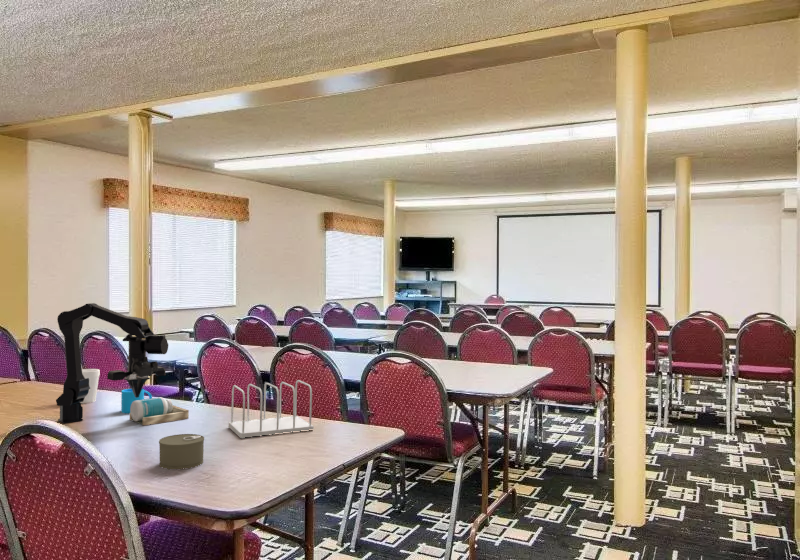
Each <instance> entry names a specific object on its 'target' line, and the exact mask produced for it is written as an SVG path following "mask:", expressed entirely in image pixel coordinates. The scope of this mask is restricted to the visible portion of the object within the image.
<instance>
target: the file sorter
mask: <svg viewBox="0 0 800 560" xmlns="http://www.w3.org/2000/svg"><path fill="white" fill-rule="evenodd" d="M298 383H301V384H303V385H304V386H307V387H308V388H309V419H308V420H309V422H308V421H307V420H305V419H304V418H301V417H300V416H298V415H297V402H298V401H297V399H298V398H297V397H298V396H297V395H298ZM282 385H285V386H287V387H290V388H291V389H292V393H293V394H292V395H293V398H292V400H293V402H292V406H293V407H292V408H293V409H292V411H293V412H292V415H291V416H283V417H282ZM267 386H269V387H272V388H274V389H275V391H276V417H269V418H267V417H266V408H267V407H266V405H267V403H266V399H267V398H266V397H267V395H266V394H267ZM250 387H252V388H254V389H257V390H258V391H259V393H260V399H259V400H260V405H259V410H260V411H259V412H260V413H259V418H258V419H250ZM235 389H237V390H238V391H240V392H241V394H242V420H237V421H236V420H235V421H234V402H235V401H234V400H235V399H234V398H235V397H234V396H235V395H234V394H235ZM246 390H247V391H246V392H247V393H245V391H244V390H243V389H242V388H240V387H239V386H237V385H236V384H235V385H232V389H231V407H230V408H231V409H230V410H231V412H230V413H231V414H230V416H231V417H230V421H228V426H227V427H228V428H229V429H230V430H231V431H232V432H233V433H234V434H235V435H237V436H238V437H239V439H246V438H245V437H251V438H253V437H252V436H260V435H269V434H275V433H283V432H291V431H292V432H293V431H301V430H309V429H314V425H313V424H312V411H313V407H312V406H313V405H312V404H313V389H312V386H311V385H310V384H309V383H307V382H305V381H303V380H300V379H297V380H296V381H295V386H294V385H291V384H289V383H287V382H285V381H281V382H280V383H279V388H278V386H276V385H273V384H272V383H269V382H265V383H264V387H263V390H262V389H261V387H259V386H256V385H255V384H252V383H249V384H248V385H247V389H246ZM245 394H246V395H247V398H246V395H245ZM246 401H247V402H246ZM246 403H247V406H246ZM246 407H247V409H245V408H246ZM246 410H247V416H246V417H247V420H246V419H245V418H246V417H245V415H246V414H245V413H246ZM314 430H315V429H314ZM260 437H261V436H260Z"/></svg>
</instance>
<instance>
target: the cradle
mask: <svg viewBox="0 0 800 560" xmlns="http://www.w3.org/2000/svg"><path fill="white" fill-rule="evenodd" d="M189 411H190V410H189V409H186V408H183V407H179V406H176V405H173V409H172V411H171V412H169V413H166V414H163V415H157V416H150V417H144V418H143V420H142V421H134V420H133V419H132V417H131V413H129V421H131V422H134V423H137V424H139V425H142V426H150V424H151V425H157V424H162V423H168V422H175V421H180V420H188V419H189V415H190V413H189Z"/></svg>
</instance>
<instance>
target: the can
mask: <svg viewBox="0 0 800 560" xmlns="http://www.w3.org/2000/svg"><path fill="white" fill-rule="evenodd" d="M158 444H159V467H160V468H161V467H163V468H162V469H164V468H167V469H166V470H170V469H180V470H186V469H185V468H188V469H192V468H191V467H193V468H196V467H195V466H197V467H198V465H199V466H201V465H203V463H204V444H205V437H204V436H203V435H201V434H196V433H194V434H193V433H180V434H179V433H178V434H172V435H167V436H165V437H162V438H160V439H159V441H158ZM200 464H201V465H200ZM183 468H184V469H183Z"/></svg>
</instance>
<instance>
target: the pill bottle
mask: <svg viewBox="0 0 800 560" xmlns="http://www.w3.org/2000/svg"><path fill="white" fill-rule="evenodd" d="M172 409H173V402H172V400H171V399H165V398H164V397H161V396H160V397H152V398H151V399H149V398H144V399H143V400H136V401H133V402H132V404H131V408H130V412H131V417H132V419H133V420H134V421H142V420H143V418H144V417H150V416H157V415H163V414H166V413H169V412H171V411H172ZM134 421H133V422H134Z"/></svg>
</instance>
